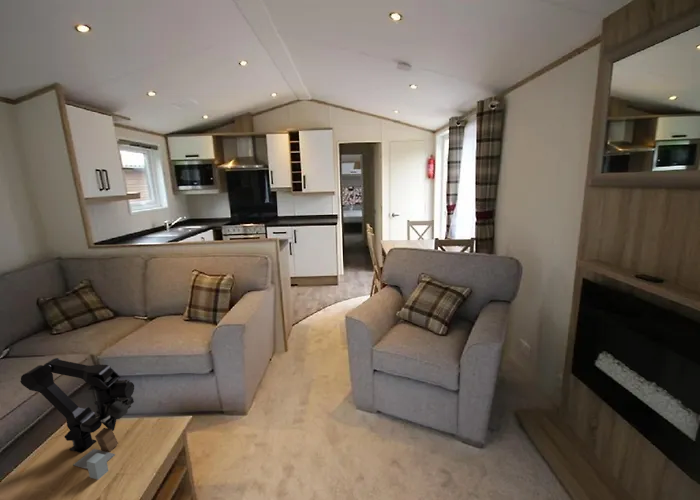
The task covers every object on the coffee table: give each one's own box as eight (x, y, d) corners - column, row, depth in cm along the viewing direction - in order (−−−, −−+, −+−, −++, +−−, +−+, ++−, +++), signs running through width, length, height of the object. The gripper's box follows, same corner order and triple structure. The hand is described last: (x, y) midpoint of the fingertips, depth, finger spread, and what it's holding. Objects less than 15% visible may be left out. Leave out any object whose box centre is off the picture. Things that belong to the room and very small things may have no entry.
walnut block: (101, 450, 136) (94, 436, 133) (110, 441, 139) (104, 427, 136) (109, 452, 135) (102, 438, 132) (118, 443, 138) (111, 429, 135)
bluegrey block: (89, 477, 123) (86, 461, 122) (100, 468, 127) (97, 452, 126) (98, 479, 122) (94, 463, 121) (108, 470, 126) (105, 454, 124)
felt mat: (73, 465, 129) (73, 464, 129) (94, 449, 136) (93, 448, 136) (95, 471, 126) (95, 470, 126) (115, 454, 133) (115, 454, 133)
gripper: (98, 416, 123) (106, 452, 127) (141, 385, 141) (147, 418, 144) (75, 411, 126) (83, 446, 130) (120, 382, 144) (126, 414, 147)
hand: (112, 430), depth 138 cm, fingers closed
